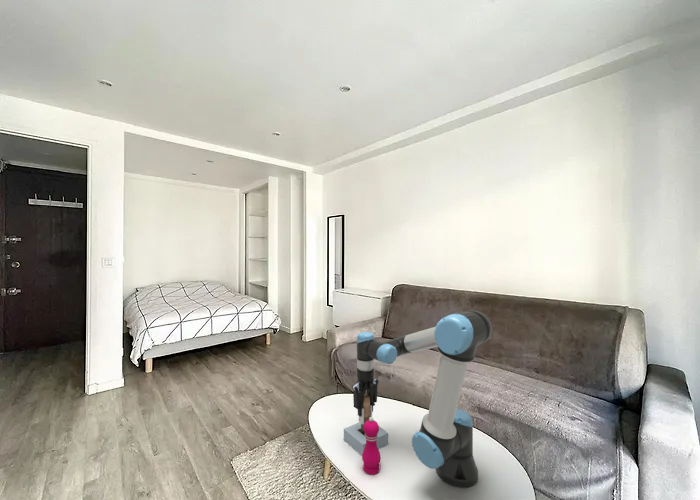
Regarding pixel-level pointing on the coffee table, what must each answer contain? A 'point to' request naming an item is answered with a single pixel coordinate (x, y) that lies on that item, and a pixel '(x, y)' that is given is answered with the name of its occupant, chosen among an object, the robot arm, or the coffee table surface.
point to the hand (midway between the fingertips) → (365, 421)
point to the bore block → (363, 438)
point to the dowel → (366, 411)
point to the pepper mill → (371, 448)
